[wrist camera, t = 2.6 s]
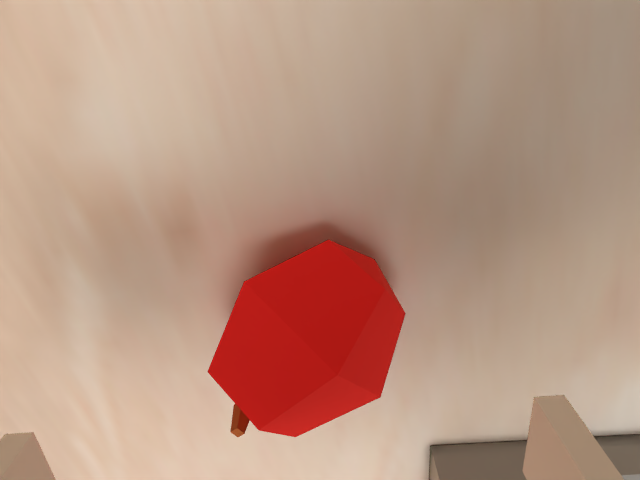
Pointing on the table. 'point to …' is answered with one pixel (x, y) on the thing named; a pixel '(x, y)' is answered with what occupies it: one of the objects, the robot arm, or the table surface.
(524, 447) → the tray
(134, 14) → the table surface
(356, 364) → the apple
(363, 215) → the table surface
